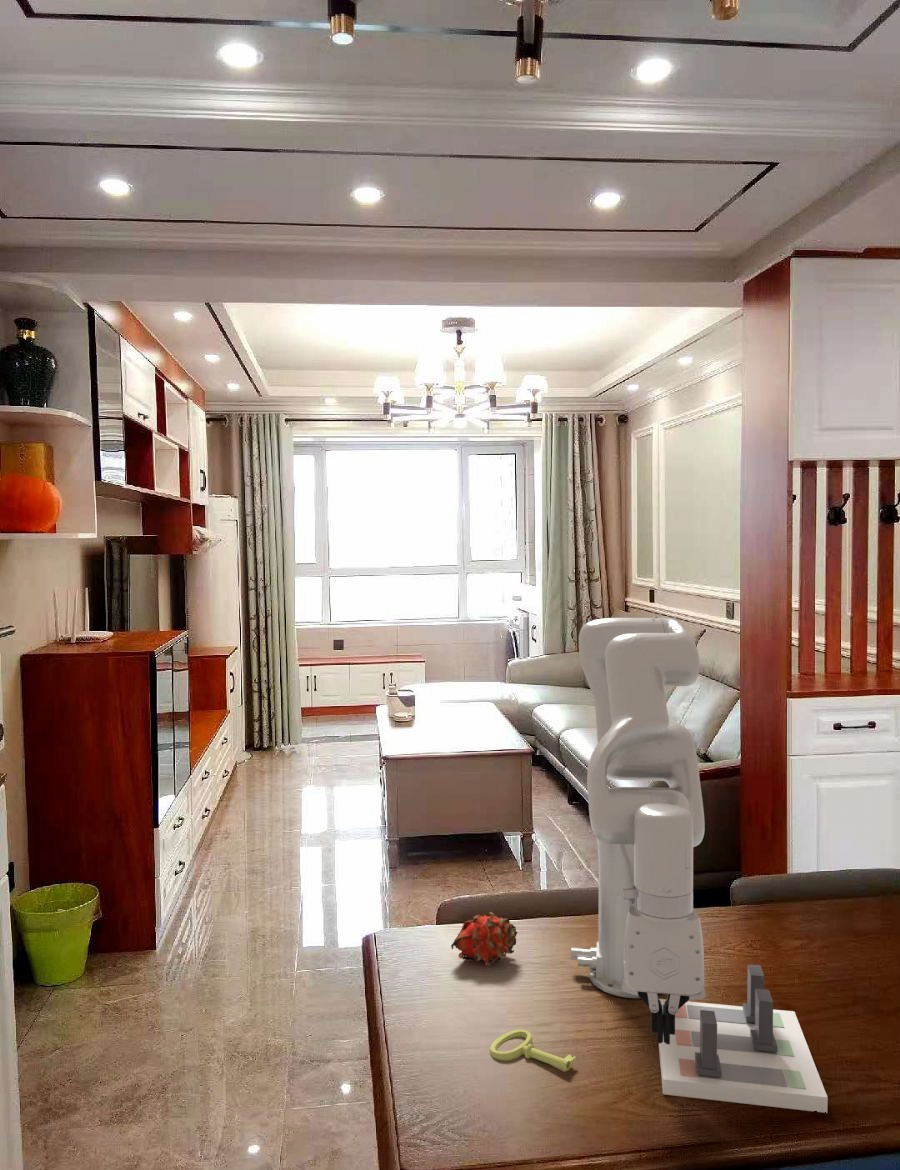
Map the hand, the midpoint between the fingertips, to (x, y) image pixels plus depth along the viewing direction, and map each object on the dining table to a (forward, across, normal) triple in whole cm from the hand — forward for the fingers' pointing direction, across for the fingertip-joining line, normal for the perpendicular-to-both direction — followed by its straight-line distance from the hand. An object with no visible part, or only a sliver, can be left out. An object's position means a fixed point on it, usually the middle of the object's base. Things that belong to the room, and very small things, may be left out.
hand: (662, 1037), depth 113 cm
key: (+7, -18, +3) cm, 19 cm away
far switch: (+3, +14, +15) cm, 20 cm away
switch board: (+6, +10, +8) cm, 14 cm away
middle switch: (+4, +14, +8) cm, 16 cm away
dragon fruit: (+6, -28, +29) cm, 41 cm away
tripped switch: (+4, +6, +1) cm, 7 cm away
